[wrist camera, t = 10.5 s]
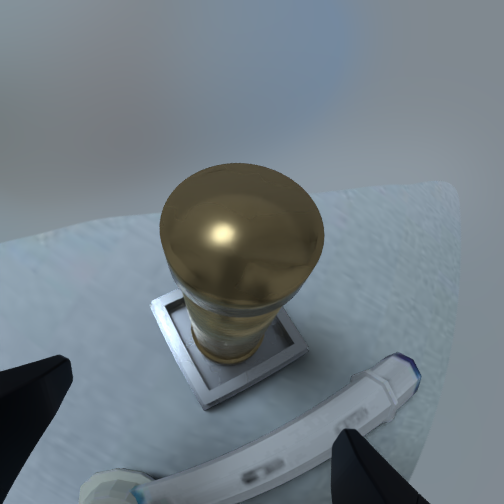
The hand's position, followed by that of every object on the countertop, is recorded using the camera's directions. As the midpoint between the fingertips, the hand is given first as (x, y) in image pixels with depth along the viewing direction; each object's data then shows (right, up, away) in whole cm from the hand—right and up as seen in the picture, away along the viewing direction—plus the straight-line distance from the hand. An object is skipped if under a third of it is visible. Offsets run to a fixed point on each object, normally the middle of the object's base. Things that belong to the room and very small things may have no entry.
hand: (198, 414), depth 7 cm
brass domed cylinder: (0, -1, +12) cm, 12 cm away
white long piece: (+2, -9, +9) cm, 13 cm away
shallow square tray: (0, -1, +13) cm, 13 cm away
